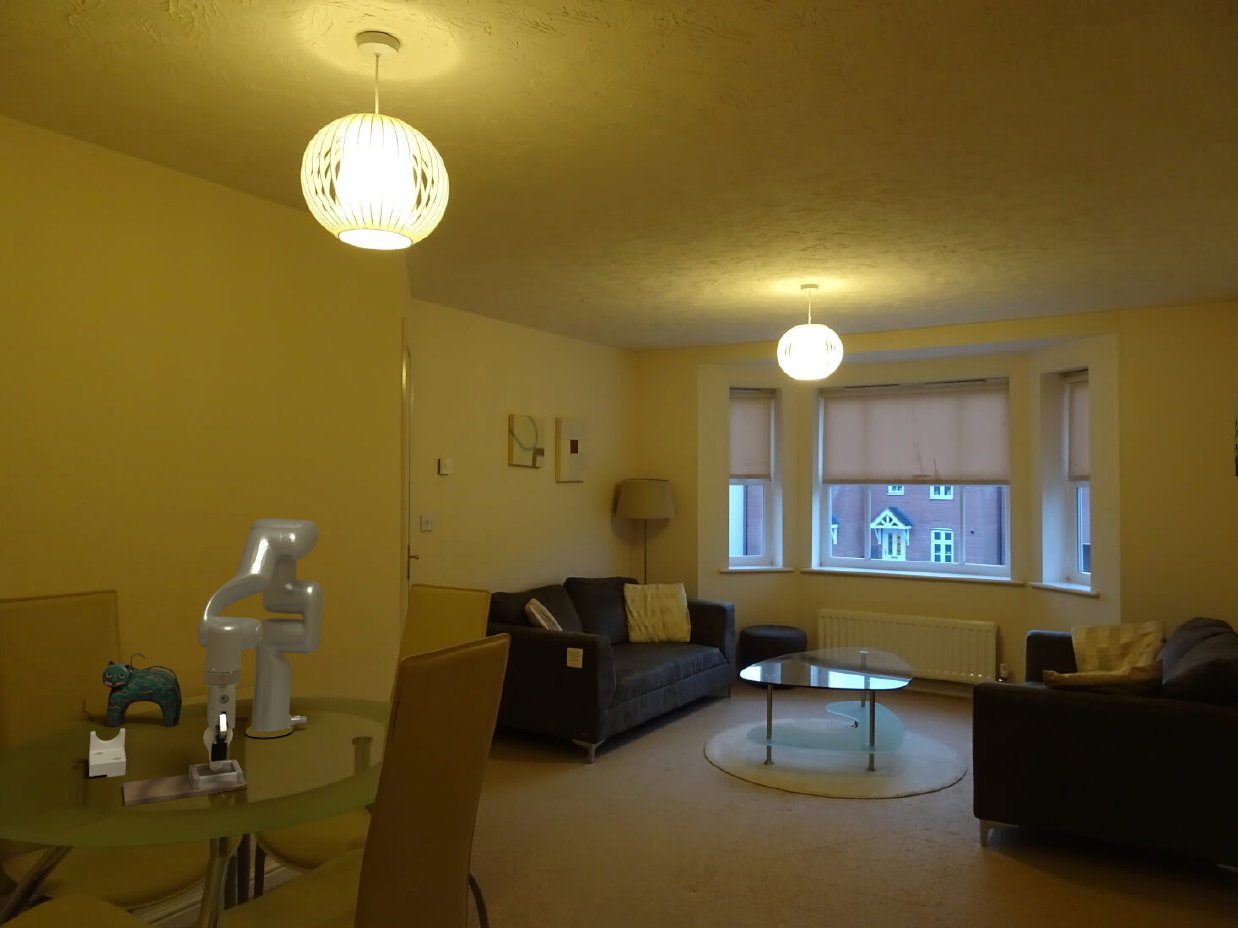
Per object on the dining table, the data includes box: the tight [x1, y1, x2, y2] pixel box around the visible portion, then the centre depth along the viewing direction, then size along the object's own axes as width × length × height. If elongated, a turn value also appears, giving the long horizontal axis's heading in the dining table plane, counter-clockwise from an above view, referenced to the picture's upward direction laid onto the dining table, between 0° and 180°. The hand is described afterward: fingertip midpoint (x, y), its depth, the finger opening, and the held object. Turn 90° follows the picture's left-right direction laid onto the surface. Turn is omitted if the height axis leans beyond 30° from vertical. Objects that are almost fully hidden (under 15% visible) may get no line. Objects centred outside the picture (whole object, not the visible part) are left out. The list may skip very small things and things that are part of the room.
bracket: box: [88, 727, 127, 778], centre depth 197 cm, size 13×7×8 cm, turn 33°
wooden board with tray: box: [122, 759, 248, 807], centre depth 188 cm, size 24×12×4 cm, turn 123°
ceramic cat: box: [101, 652, 183, 728], centre depth 232 cm, size 20×6×20 cm, turn 99°
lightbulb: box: [202, 725, 234, 771], centre depth 191 cm, size 6×6×11 cm
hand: (216, 755), depth 191 cm, fingers closed on lightbulb, 5 cm apart
